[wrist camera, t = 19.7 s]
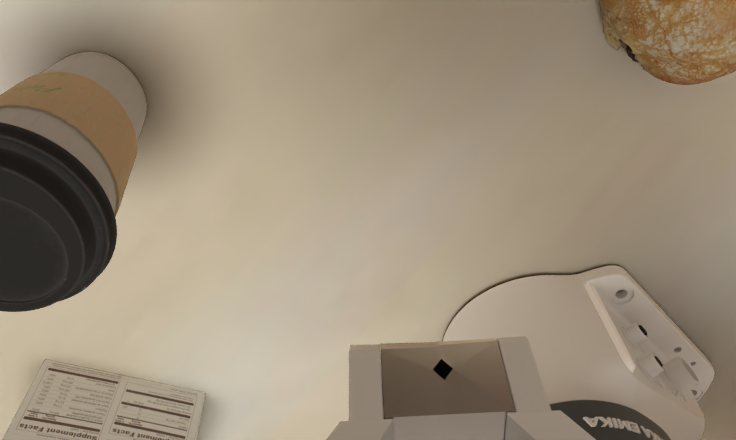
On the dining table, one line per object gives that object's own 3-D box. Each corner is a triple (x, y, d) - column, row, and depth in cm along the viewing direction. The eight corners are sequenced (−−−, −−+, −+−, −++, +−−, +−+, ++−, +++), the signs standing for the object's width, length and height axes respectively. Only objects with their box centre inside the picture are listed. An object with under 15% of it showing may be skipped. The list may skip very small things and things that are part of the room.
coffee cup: (66, -14, 37) (-77, 94, 25) (208, 93, 41) (145, 233, 29) (-11, 105, 41) (-168, 250, 29) (125, 192, 45) (38, 355, 32)
